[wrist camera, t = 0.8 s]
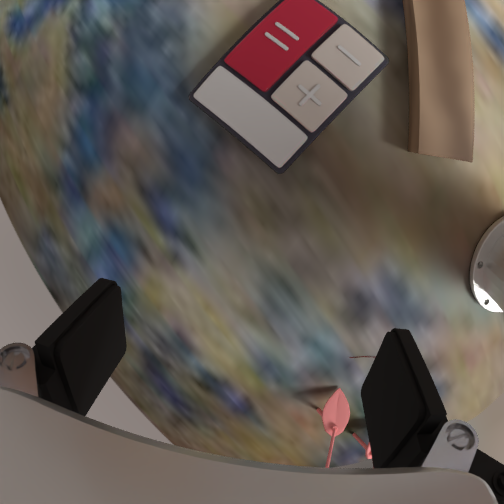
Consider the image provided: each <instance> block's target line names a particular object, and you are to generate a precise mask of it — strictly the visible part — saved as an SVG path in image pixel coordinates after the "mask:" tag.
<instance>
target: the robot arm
mask: <svg viewBox="0 0 504 504" xmlns="http://www.w3.org/2000/svg"><path fill="white" fill-rule="evenodd" d="M470 285H471V290H472V293H473V295H474V297H475V298H476V300H477V301H478V302H479V304H480V305H481V306H482V307H483V308H485V309H487V310H489V311H492V312H504V216H503V217H501V218H500V219H498V220H497V221H495V222H494V223H493V224H492V225H491V226H490V227H489V228H488V230H487V231H486V232H485V233H484V235H483V236H482V238H481V240H480V241H479V243H478V245H477V247H476V250H475V252H474V255H473V259H472V262H471V268H470ZM35 344H36V345H35V346H34V347H33V348H31V347H30V346H28V345H26V344H24V343H12V344H8V345H6V346H4V347H3V348H2V349H0V504H504V465H503V464H501V463H499V462H498V461H496V460H495V459H493V458H491V457H490V456H488V455H487V454H485V453H483V452H482V451H480V450H478V449H477V447H478V442H479V440H478V435H477V433H476V431H475V430H474V428H473V427H472V426H471V425H469V424H468V423H467V422H464V421H462V420H456V419H455V420H450V421H448V420H447V417H446V415H447V413H446V410H445V408H444V405H443V403H442V401H441V398H440V396H439V394H438V391H437V389H436V387H435V384H434V382H433V380H432V377H431V375H430V373H429V371H428V368H427V366H426V364H425V362H424V360H423V358H422V355H421V353H420V351H419V349H418V347H417V345H416V343H415V341H414V339H413V337H412V335H411V333H410V331H409V330H407V329H397V328H394V329H392V330H391V332H387V333H386V335H385V337H384V340H383V342H382V344H381V347H380V349H379V351H378V353H377V356H376V358H375V360H374V362H373V364H372V367H371V369H370V371H369V373H368V375H367V377H366V379H365V381H364V383H363V386H362V389H361V398H362V403H363V408H364V414H365V419H366V424H367V430H368V436H369V442H370V448H371V454H372V460H373V467H374V468H371V469H370V468H369V469H359V468H355V469H354V468H352V469H351V468H318V467H303V466H291V465H281V464H272V463H264V462H256V461H249V460H243V459H236V458H231V457H225V456H220V455H215V454H210V453H205V452H200V451H196V450H191V449H187V448H183V447H179V446H175V445H171V444H167V443H164V442H160V441H156V440H152V439H149V438H146V437H143V436H139V435H136V434H133V433H130V432H127V431H124V430H121V429H118V428H115V427H112V426H109V425H107V424H104V423H101V422H98V421H96V420H93V419H90V418H88V417H85V416H86V414H87V412H88V411H89V409H90V408H91V406H92V404H93V403H94V401H95V399H96V398H97V396H98V395H99V393H100V392H101V390H102V388H103V387H104V385H105V384H106V382H107V381H108V379H109V377H110V376H111V374H112V373H113V371H114V370H115V368H116V366H117V365H118V363H119V362H120V360H121V359H122V357H123V356H124V354H125V351H126V337H125V328H124V319H123V308H122V297H121V288H120V287H119V286H117V283H116V282H115V281H112V280H108V279H104V278H100V279H99V280H97V281H96V282H95V283H94V284H93V285H92V286H91V287H90V288H89V289H88V290H87V291H86V292H85V293H83V294H82V295H81V296H80V297H79V298H78V299H77V300H76V301H75V302H74V303H73V304H72V305H71V306H70V307H69V308H68V309H67V310H66V311H65V312H64V313H63V314H62V315H61V316H59V318H58V319H57V320H56V321H55V322H54V323H52V325H50V327H49V328H47V329H46V330H45V331H44V333H43V334H42V335H41V336H40V337H39V338H38V339H37V340H36V341H35Z"/></svg>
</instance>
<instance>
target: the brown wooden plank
mask: <svg viewBox="0 0 504 504" xmlns="http://www.w3.org/2000/svg"><path fill="white" fill-rule="evenodd" d="M403 8H404V16H405V26H406V37H407V51H408V70H409V137H408V151H409V152H413V153H418V154H424V155H431V156H438V157H444V158H450V159H456V160H462V161H467V162H472V160H473V145H474V75H473V60H472V49H471V40H470V32H469V25H468V18H467V12H466V6H465V1H464V0H403Z"/></svg>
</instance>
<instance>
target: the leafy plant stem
mask: <svg viewBox="0 0 504 504" xmlns="http://www.w3.org/2000/svg"><path fill="white" fill-rule="evenodd" d="M361 357H369V356H361ZM349 358H357V357H349ZM317 412H318V413H319V414H320V415H321V417H322V421H323V424H324V428H325V431H326V432H327V433H328V434H329V435H331V436H332V438H331V443H330V448H329V453H328V458H327V462H326V467H325V468H329V463H330V459H331V454H332V448H333V443H334V438H335V436H337V435H339V434H340V433H342V432H343V431H344V429H345V427H346V425H347V423H348V421H349V416H350V410H349V404H348V402H347V400H346V398H345V396H344V393H343V392H342V390H341V389H340V388H338V389H337V390H336V391H335V392H334V393H333V395H332V396H331V397H330V398H329V399H328V401H327V402H326V404H325V406H324V409H323V411H322V410H321V409H320V408H317ZM352 435H353V436H354V438H355V439H356V440H357V441H358V442H359V443H360V444H361V445H362V446H363V447H364V448H365V449H366V457H367V459H372V454H371V448H370V442H369V444H368V446H367V445H366V444H365V443H364V442H363V441H362V440H361V439H360V438H359V437H358V436H357V435H356V434H355V433H353V434H352ZM372 461H373V460H372ZM373 468H374V467H373Z"/></svg>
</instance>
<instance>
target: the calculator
mask: <svg viewBox="0 0 504 504" xmlns="http://www.w3.org/2000/svg"><path fill="white" fill-rule="evenodd" d="M388 63H389V59H388V57H387V56H386V55H385V54H384V53H382V52H381V51H380V50H379V49H378V48H377V47H376V46H375V45H374V44H373V43H371V42H370V41H369V40H368V39H367V38H366V37H365V36H363V35H362V34H361V33H360V32H359V31H357V30H356V29H355V28H354V27H353V26H351V25H350V24H349V23H348V22H346V21H345V20H344V19H343V18H341V17H340V16H339V15H337V14H336V13H335V12H333V11H332V10H331V9H329V8H328V7H327V6H325V5H324V4H323V3H321V2H320V1H318V0H280V1H279V2H277V3H276V4H275V5H274V6H273V7H272V8H271V9H270V10H269V11H268V12H266V13H265V14H264V15H263V16H262V17H261V18H260V19H259V20H258V21H257V22H256V23H255V24H254V25H253V26H252V27H251V28H250V29H249V30H248V31H247V32H246V33H245V34H244V35H243V36H242V37H241V38H240V39H239V40H238V41H237V42H236V43H235V44H234V45H233V46H232V47H231V48H230V49H229V50H228V51H227V52H226V53H225V54H224V55H223V57H222V58H221V59H220V60H219V61H218V62H217V63H216V64H215V65H214V66H213V67H212V69H211V70H210V71H209V72H208V73H207V74H206V75H205V77H204V78H203V79H202V80H201V81H200V82H199V83H198V85H197V86H196V87H195V88H194V89H193V91H192V92H191V93H190V94H189V100H190V101H191V102H192V103H194V104H195V105H196V106H198V107H199V108H200V109H201V110H203V111H204V112H205V113H206V114H208V115H209V116H210V117H211V118H213V119H214V120H215V121H216V122H217V123H219V124H220V125H221V126H222V127H224V128H225V129H226V130H227V131H228V132H230V133H231V134H232V135H233V136H234V137H236V138H237V139H238V140H239V141H240V142H242V143H243V144H244V145H245V146H246V147H247V148H249V149H250V150H251V151H252V152H253V153H254V154H256V155H257V156H258V157H259V158H260V159H261V160H262V161H264V162H265V163H266V164H267V165H268V166H269V167H270V168H272V169H273V170H274V171H275V172H276V173H278V174H282V173H284V172H285V171H286V169H287V168H288V167H289V166H290V165H291V164H292V163H293V162H294V161H295V160H296V159H297V158H298V157H299V156H300V154H301V153H302V152H303V151H304V150H305V149H306V148H307V147H308V146H309V145H310V144H311V143H312V142H313V141H314V140H315V139H316V137H317V136H318V135H319V134H320V133H321V132H322V131H323V130H324V129H325V128H326V127H327V126H328V125H329V124H330V123H331V122H332V121H333V120H334V119H335V118H336V116H337V115H338V114H339V113H340V112H341V111H342V110H343V109H344V108H345V107H346V106H347V105H348V104H349V103H350V102H351V101H352V100H353V99H354V98H355V97H356V96H357V95H358V94H359V93H360V92H361V91H362V90H363V89H364V88H365V87H366V86H367V85H368V84H369V83H370V82H371V81H372V80H373V78H374V77H375V76H376V75H377V74H378V73H379V72H380V71H381V70H382V69H383V68H384V67H385V66H386V65H387V64H388Z"/></svg>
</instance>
